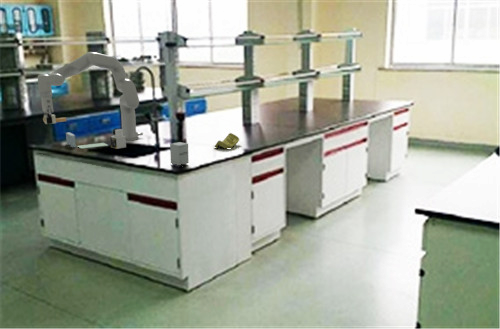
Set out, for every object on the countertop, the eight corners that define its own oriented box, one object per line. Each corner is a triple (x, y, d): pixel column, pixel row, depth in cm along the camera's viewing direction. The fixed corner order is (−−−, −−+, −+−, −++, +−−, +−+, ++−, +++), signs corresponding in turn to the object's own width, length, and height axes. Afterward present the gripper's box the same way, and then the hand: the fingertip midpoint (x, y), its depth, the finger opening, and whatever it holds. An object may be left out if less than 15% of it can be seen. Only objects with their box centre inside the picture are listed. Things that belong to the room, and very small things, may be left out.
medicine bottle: (110, 147, 351) (109, 129, 348) (120, 145, 356) (119, 127, 353) (116, 149, 346) (115, 130, 343) (126, 147, 351) (125, 129, 348)
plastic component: (230, 146, 342) (217, 139, 344) (226, 156, 345) (212, 148, 347) (241, 138, 360) (228, 131, 361) (237, 148, 363) (224, 140, 365)
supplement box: (179, 167, 300) (178, 145, 297) (170, 165, 305) (169, 143, 302) (189, 165, 305) (188, 143, 302) (180, 163, 310) (179, 141, 307)
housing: (70, 143, 362) (69, 132, 360) (75, 147, 352) (74, 135, 350) (66, 144, 360) (65, 132, 358) (72, 147, 351) (71, 135, 349)
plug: (65, 121, 353) (64, 113, 352) (67, 121, 349) (66, 114, 348) (43, 123, 345) (42, 115, 344) (44, 124, 342) (44, 116, 341)
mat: (103, 143, 363) (103, 142, 363) (108, 145, 356) (108, 145, 356) (76, 146, 354) (76, 145, 354) (80, 148, 346) (80, 148, 346)
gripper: (55, 95, 336) (58, 124, 340) (48, 92, 349) (51, 120, 354) (42, 96, 332) (45, 125, 336) (36, 93, 345) (39, 121, 350)
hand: (48, 122), depth 345 cm, fingers closed on plug, 4 cm apart
